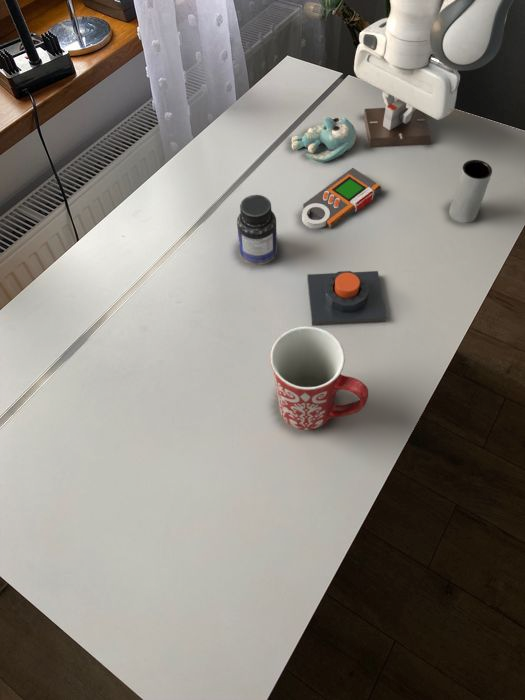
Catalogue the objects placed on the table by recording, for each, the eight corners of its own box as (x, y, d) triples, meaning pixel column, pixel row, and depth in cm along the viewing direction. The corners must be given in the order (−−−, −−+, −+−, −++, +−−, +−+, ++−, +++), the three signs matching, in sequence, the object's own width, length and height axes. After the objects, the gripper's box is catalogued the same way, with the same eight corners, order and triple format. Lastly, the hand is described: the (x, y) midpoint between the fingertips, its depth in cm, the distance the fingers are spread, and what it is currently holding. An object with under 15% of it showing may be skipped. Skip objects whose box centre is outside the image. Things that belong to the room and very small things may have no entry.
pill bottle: (248, 237, 102) (244, 187, 92) (282, 246, 100) (281, 196, 91) (234, 263, 98) (228, 213, 89) (269, 273, 97) (267, 223, 88)
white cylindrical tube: (461, 230, 101) (477, 182, 92) (442, 215, 103) (456, 166, 94) (480, 219, 102) (498, 171, 93) (461, 204, 104) (477, 155, 96)
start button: (357, 279, 91) (358, 271, 90) (360, 298, 89) (361, 290, 88) (333, 280, 91) (334, 273, 90) (335, 299, 89) (336, 291, 88)
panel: (418, 117, 118) (421, 102, 115) (428, 151, 112) (431, 136, 110) (362, 120, 118) (364, 105, 115) (369, 154, 112) (371, 139, 110)
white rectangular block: (404, 112, 114) (408, 92, 110) (411, 116, 113) (415, 96, 110) (382, 126, 112) (385, 105, 108) (389, 130, 111) (393, 110, 108)
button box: (376, 280, 96) (379, 263, 92) (384, 325, 91) (388, 309, 87) (306, 283, 96) (307, 266, 92) (311, 329, 91) (312, 313, 87)
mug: (260, 420, 83) (256, 368, 71) (292, 371, 87) (292, 315, 75) (343, 462, 79) (352, 415, 67) (372, 409, 83) (385, 356, 72)
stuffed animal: (287, 106, 112) (352, 94, 110) (294, 138, 118) (355, 127, 116) (287, 143, 106) (355, 131, 104) (294, 175, 112) (359, 164, 110)
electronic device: (293, 210, 101) (354, 164, 106) (293, 222, 104) (353, 177, 109) (321, 231, 99) (383, 183, 103) (321, 243, 101) (381, 196, 106)
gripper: (473, 61, 97) (453, 133, 108) (376, 15, 105) (367, 87, 117) (449, 77, 95) (432, 150, 106) (352, 29, 103) (345, 101, 115)
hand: (397, 117), depth 112 cm, fingers closed on white rectangular block, 2 cm apart
